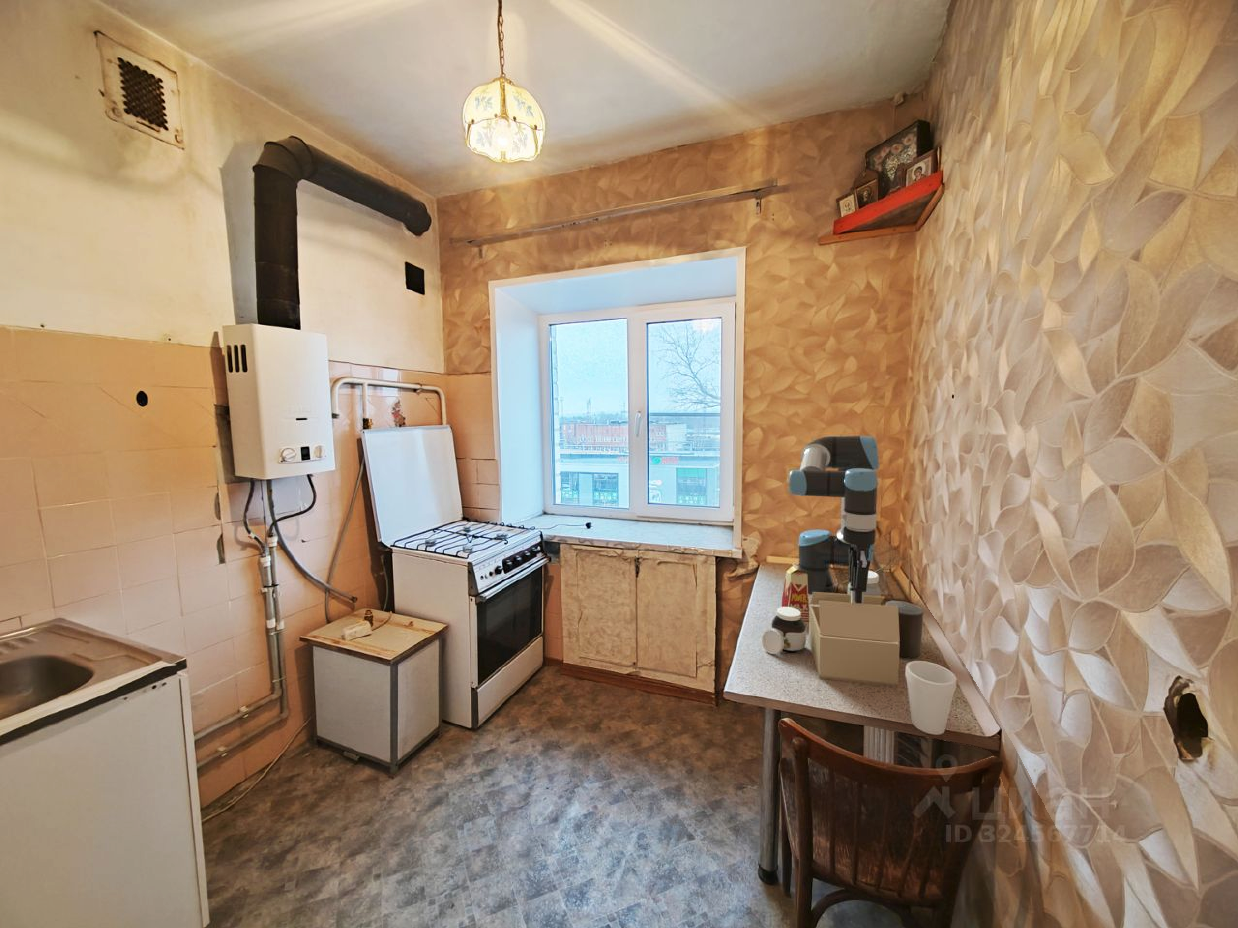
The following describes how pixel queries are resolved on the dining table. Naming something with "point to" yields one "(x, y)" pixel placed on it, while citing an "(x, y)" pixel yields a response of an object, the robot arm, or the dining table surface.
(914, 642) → the pillar candle
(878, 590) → the jar
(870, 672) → the carton
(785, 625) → the spread jar
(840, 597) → the back flap
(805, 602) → the milk carton
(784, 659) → the dining table surface
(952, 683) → the foam cup
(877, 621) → the front flap
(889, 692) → the dining table surface
